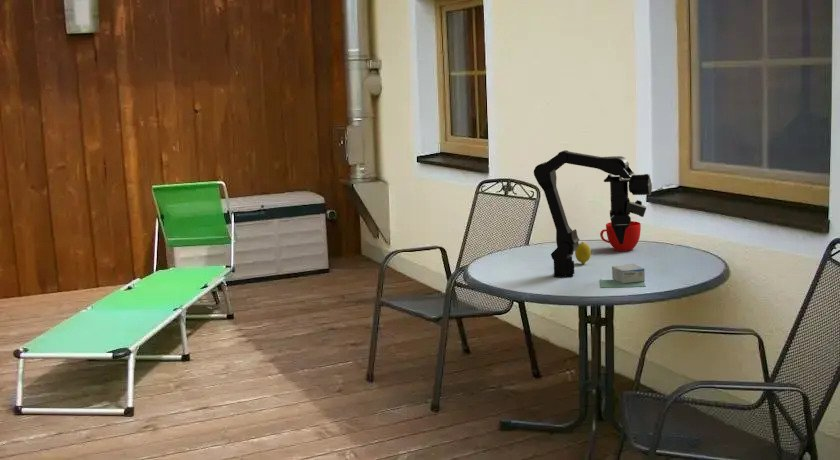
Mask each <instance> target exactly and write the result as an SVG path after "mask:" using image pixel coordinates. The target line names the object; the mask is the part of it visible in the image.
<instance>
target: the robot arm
mask: <svg viewBox="0 0 840 460" xmlns="http://www.w3.org/2000/svg"><path fill="white" fill-rule="evenodd" d="M565 164H569V165H573V166H580V167H587V168H592V169H597V170H600V171H602V172H604V173H606V174H607V177H605V178H604V180H603V183H609V188H610V189H609V190H610V192H609V193H610V210H609V218H610V222H611V225H612V228H613V230H614V232H615V235H616V237H617V239H618V242H619V244H623V241H624V236H625V230H626V228H627V227H628V226H630V224H631V221H632V218H631V216H630V215H631V214H634V215H636V216H639V217H641V218H644V216H645V214H646V210H647V206H645V205H643V201H641V200H639V199H637V200H635V202H634V201H630V198H629V193H630V194H632V195H633V196H651V195H652V191H653V190H652V189H653V184H652V180H651V174H650V173H644V174H636V173H635V172H634V171H633V170H632V168H631V167H630V166H629V164H630V163H629V161H628V159H627V158H626V157H625V156H619V155H618V156H617V155H615V156H613V155H612V156H598V155H593V154H592V155H591V154H585V153H580V152H572V151H569V150H562V151H559V152H558V153H557V154H556V155H555V156H554V157H552V158H550V159H549V160H548V161H545V162H543V163H540V164H537V165H536V166H535V168H534V170H533V175H534V178H535V180H536V181H537V184H538V185H539V186H540V188H541V189H542V191H543V192H544V196H545V198H546V199H545V200H546V201H547V205H548V208H549V212H550V214H551V218H552V220H553V224H554V227H555V231H556V234H555V238H556V239H555V241H556V248H555V249H554V250H553V251H552V253H550V256H551V259H552V260H553V278H562V277H563V278H564V277H565V278H569V277H574V274H575V261H574V260H573V254H574V253H575V250H576V249H577V248H578V246H579V244H580V243H579V241H580V238H579V236H578V232H577V229H572V228H571V227H570V225H569V223H568V219H567V215H566V213H565V210H564V206H563V204H562V201H561V197H560V195H559V190H558V188H557V172H556V171H557V170H559V169H560V168H562V166H564V165H565Z"/></svg>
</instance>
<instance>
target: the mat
mask: <svg viewBox="0 0 840 460" xmlns="http://www.w3.org/2000/svg"><path fill="white" fill-rule="evenodd" d="M599 282H600V283H599V284H600V288H601V289H607V288H608V289H609V288H610V289H612V288H638V287H639V288H642V287H643V288H644V287H645V288H646V283H645V281H642V282H633V283H624V284H622V283H620V282H618V281H616V280H614V279H599Z"/></svg>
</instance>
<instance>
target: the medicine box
mask: <svg viewBox="0 0 840 460" xmlns="http://www.w3.org/2000/svg"><path fill="white" fill-rule="evenodd" d="M645 270H646V269H645V267H642V266H640V265H637V264H635V263H630V264H621V265H613V266H611V274H612V275H611V277H612V279H611V280H616V281H618V282H620V283H622V284H624V283H633V282H642V281H644V282H645V281H646V280H645V274H646V273H645Z"/></svg>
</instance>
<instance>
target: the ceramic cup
mask: <svg viewBox="0 0 840 460" xmlns="http://www.w3.org/2000/svg"><path fill="white" fill-rule="evenodd" d="M641 226H642V223H640V222H639V221H632V220H631V224H630V226H628V227H627V228H626V230H625V236H624V241H623V244H619V242H618V239H617V237H616V235H615V232H614V230H613V228H612V225H611V221H610V222H607V223H606V224H605V228H604V229H602V230H601V231H600V234H599V235H600V239H601V240H602V241H603V242H605V243H608V244H609V245H611V246H612V248H613V249H614V250H615V251H618V252H630V251H633V250H634V248H635V247H636V246H637V245H638V243H639V241H640V237H641V230H642V229H641V228H642V227H641ZM604 232H606V237H607V239H606V238H605V237H604Z"/></svg>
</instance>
